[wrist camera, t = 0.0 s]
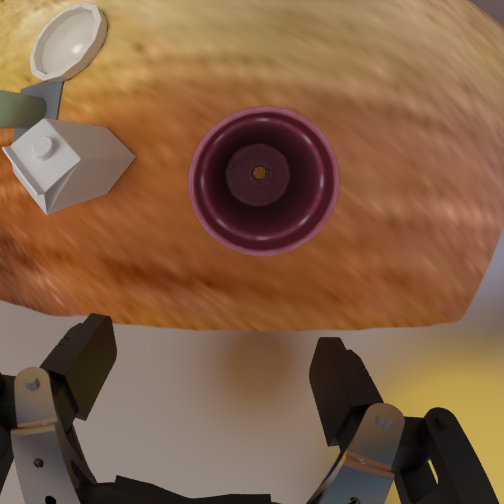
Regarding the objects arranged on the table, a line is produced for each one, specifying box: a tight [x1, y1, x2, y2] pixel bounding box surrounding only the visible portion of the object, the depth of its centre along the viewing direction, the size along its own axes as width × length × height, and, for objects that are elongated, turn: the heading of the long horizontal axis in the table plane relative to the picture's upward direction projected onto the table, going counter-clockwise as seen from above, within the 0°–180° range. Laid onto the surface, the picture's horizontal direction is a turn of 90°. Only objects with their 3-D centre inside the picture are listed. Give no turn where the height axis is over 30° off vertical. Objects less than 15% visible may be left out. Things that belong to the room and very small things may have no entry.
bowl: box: [30, 2, 108, 83], centre depth 25 cm, size 14×14×3 cm
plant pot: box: [188, 106, 340, 256], centre depth 30 cm, size 14×14×13 cm
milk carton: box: [2, 118, 136, 215], centre depth 25 cm, size 7×7×19 cm
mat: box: [14, 81, 64, 142], centre depth 30 cm, size 11×11×1 cm
